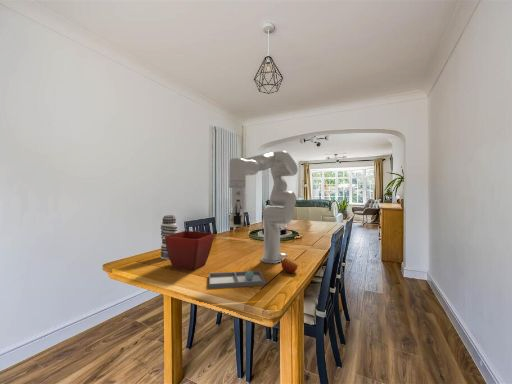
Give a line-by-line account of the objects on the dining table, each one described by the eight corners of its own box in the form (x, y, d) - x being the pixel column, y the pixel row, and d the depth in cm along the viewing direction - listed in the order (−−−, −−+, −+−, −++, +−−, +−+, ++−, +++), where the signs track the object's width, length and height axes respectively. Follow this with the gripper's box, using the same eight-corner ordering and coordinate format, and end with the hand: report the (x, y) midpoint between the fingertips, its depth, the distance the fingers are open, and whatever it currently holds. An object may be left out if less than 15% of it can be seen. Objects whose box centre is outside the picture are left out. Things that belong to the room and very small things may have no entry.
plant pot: (214, 262, 130) (214, 232, 130) (196, 274, 112) (197, 239, 112) (184, 259, 135) (185, 230, 135) (163, 269, 117) (163, 236, 117)
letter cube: (241, 225, 112) (242, 212, 112) (243, 227, 106) (243, 213, 106) (229, 225, 110) (229, 212, 110) (230, 227, 104) (230, 213, 104)
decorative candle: (156, 257, 137) (157, 215, 137) (170, 254, 145) (171, 214, 145) (165, 260, 132) (166, 216, 132) (179, 257, 139) (180, 215, 139)
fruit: (276, 266, 121) (284, 253, 121) (289, 274, 121) (297, 261, 122) (279, 272, 113) (288, 258, 113) (292, 280, 113) (301, 266, 114)
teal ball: (252, 278, 107) (252, 269, 107) (254, 281, 103) (254, 272, 103) (244, 278, 106) (244, 269, 106) (245, 281, 102) (245, 272, 102)
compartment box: (259, 274, 112) (259, 270, 112) (265, 285, 100) (265, 281, 100) (209, 277, 108) (209, 273, 108) (208, 289, 95) (208, 284, 95)
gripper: (248, 184, 100) (247, 226, 100) (242, 185, 117) (241, 221, 117) (230, 184, 99) (229, 226, 99) (227, 185, 116) (226, 221, 116)
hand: (236, 223), depth 108 cm, fingers closed on letter cube, 6 cm apart
